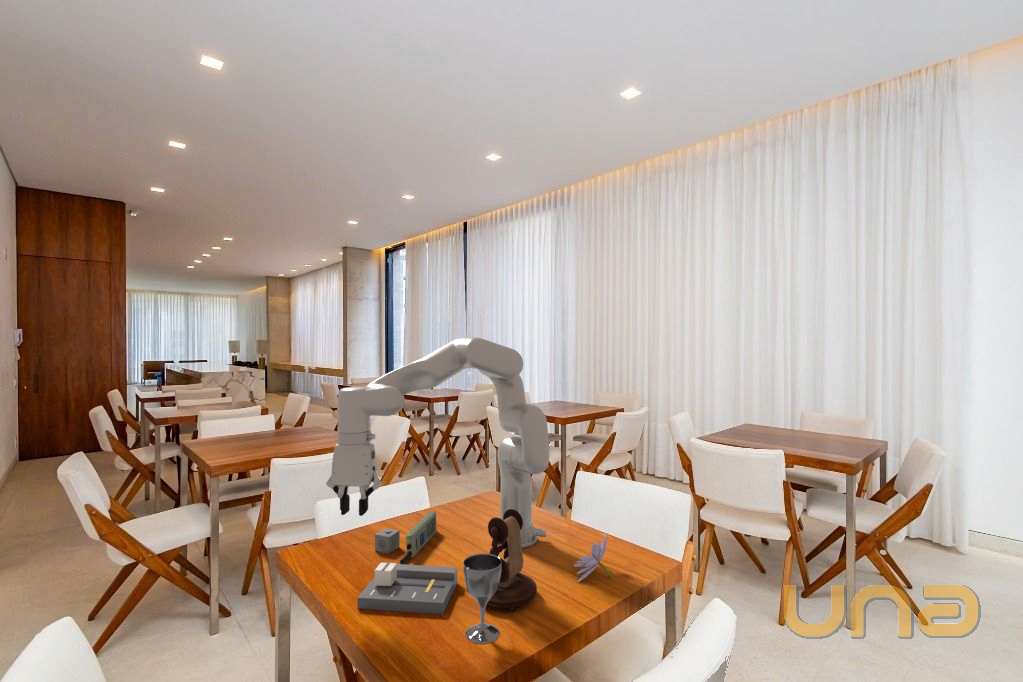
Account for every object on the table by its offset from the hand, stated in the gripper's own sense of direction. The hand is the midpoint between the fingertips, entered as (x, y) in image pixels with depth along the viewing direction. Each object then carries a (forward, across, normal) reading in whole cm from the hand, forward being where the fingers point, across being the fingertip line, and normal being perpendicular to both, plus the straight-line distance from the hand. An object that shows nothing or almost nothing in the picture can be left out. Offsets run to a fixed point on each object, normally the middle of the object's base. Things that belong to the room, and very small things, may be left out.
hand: (354, 512), depth 119 cm
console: (+19, -14, 0) cm, 24 cm away
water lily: (+20, -58, -16) cm, 63 cm away
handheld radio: (+20, -8, -27) cm, 34 cm away
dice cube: (+20, +1, -24) cm, 31 cm away
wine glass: (+19, -34, +13) cm, 41 cm away
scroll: (+20, -37, -2) cm, 42 cm away
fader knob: (+16, -8, 0) cm, 18 cm away
